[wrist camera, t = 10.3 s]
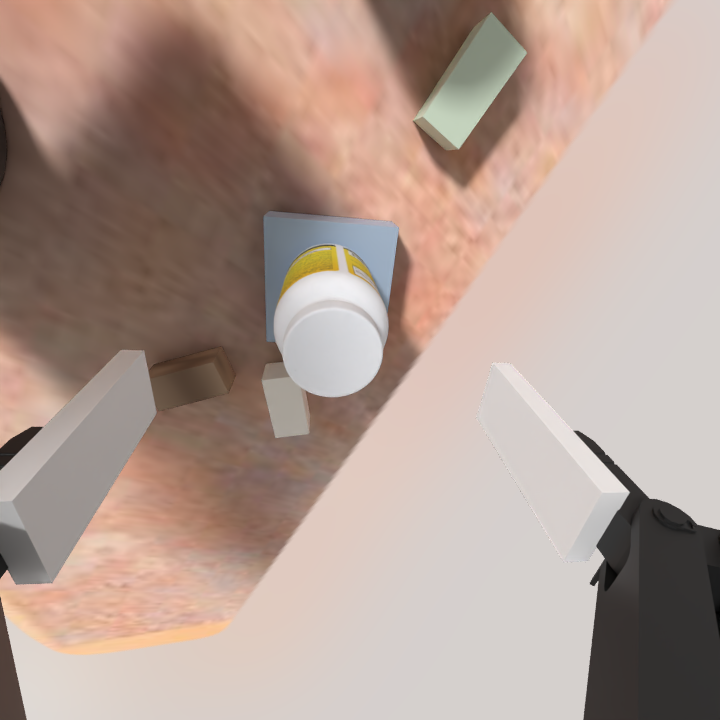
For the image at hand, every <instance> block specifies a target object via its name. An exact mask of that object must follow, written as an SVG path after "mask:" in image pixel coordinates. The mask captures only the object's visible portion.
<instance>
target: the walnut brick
mask: <svg viewBox="0 0 720 720" xmlns="http://www.w3.org/2000/svg"><path fill="white" fill-rule="evenodd" d="M148 372H149V377H150V382H151V387H152V392H153V397H154V402H155V406H156V407H157V409H158V411H163V410H166V409H170V408H174V407H178V406H182V405H185V404H189V403H193V402H197V401H201V400H205V399H208V398H212V397H216V396H220V395H224V394H228V393H229V391H230V388H231V386H232V384H233V381H234V379H235V373H234V371H233V369H232V367H231V365H230V363H229V361H228V359H227V357H226V355H225V353H224V351H223V349H222V346H221V347H218V348H214V349H210V350H206V351H203V352H199V353H195V354H191V355H188V356H184V357H180V358H176V359H173V360H169V361H165V362H161V363H158V364H154V365H153V367H152V368H151V369H150V370H149V371H148Z"/></svg>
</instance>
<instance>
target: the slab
mask: <svg viewBox="0 0 720 720" xmlns="http://www.w3.org/2000/svg"><path fill="white" fill-rule="evenodd" d="M263 221H264V260H265V300H266V339H267V342H276V340H275V336H274V315H275V310H276V307H277V303H278V300H279V297H280V294H281V290H282V287H283V283H284V280H285V276H286V274H287V271H288V269H289V267H290V265H291V263H292V262H293V260H294V259H295V258H296V257H297V256H298V255H299V254H300V253H301V252H303V251H304V250H306V249H308V248H310V247H312V246H315V245H318V244H337V245H341V246H344V247H347V248H349V249H350V250H352V251H354V252H355V253H356V254H357V255H358V256H359V257H361V259H362V260H363V261H364V262H365V264H366V265H367V267H368V269H369V271H370V273H371V275H372V278H373V280H374V282H375V285H376V287H377V289H378V291H379V294H380V296H381V298H382V300H383V303H384V305H385V308H386V311H387V313H388V306H389V298H390V291H391V283H392V276H393V268H394V260H395V253H396V245H397V238H398V230H399V227H398V226H396V225H395V224H394V223H393V222H392V221H381V220H370V219H358V218H346V217H335V216H323V215H312V214H300V213H288V212H277V211H268V212H267V213H266V214H265V215H264V216H263Z"/></svg>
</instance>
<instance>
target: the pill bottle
mask: <svg viewBox="0 0 720 720" xmlns="http://www.w3.org/2000/svg"><path fill="white" fill-rule="evenodd" d="M388 328H389V325H388V316H387V311H386V308H385V305H384V303H383V300H382V298H381V296H380V294H379V291H378V289H377V287H376V285H375V282H374V280H373V278H372V275H371V273H370V271H369V269H368V267H367V265H366V264H365V262H364V261H363V260H362V259H361V257H359V256H358V255H357V254H356V253H355V252H354V251H352V250H350V249H349V248H347V247H344V246H341V245H337V244H318V245H315V246H312V247H310V248H308V249H306V250H304V251H303V252H301V253H300V254H299V255H298V256H297V257H296V258H295V259H294V260H293V262H292V263H291V265H290V267H289V269H288V271H287V274H286V276H285V280H284V283H283V287H282V290H281V294H280V297H279V300H278V303H277V307H276V310H275V315H274V336H275V340H276V343H277V346H278V348H279V350H280V352H281V354H282V356H283V362H284V366H285V368H286V371H287V373H288V374H289V376H290V377H291V379H292V380H293V381H294V382H295V383H296V384H297V385H298V386H299V387H301V388H302V389H304V390H305V391H308V392H310V393H312V394H315V395H318V396H323V397H342V396H347V395H350V394H353V393H355V392H357V391H359V390H361V389H362V388H364V387H365V386H366V385H368V384H369V383H370V382H371V381H372V380H373V378H374V377H375V376H376V374H377V372H378V371H379V368H380V366H381V363H382V358H383V348H384V346H385V343H386V340H387V336H388Z"/></svg>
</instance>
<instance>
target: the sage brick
mask: <svg viewBox="0 0 720 720" xmlns="http://www.w3.org/2000/svg"><path fill="white" fill-rule="evenodd" d="M526 54H527V52H526V51H525V50H524V48H523V47H522V46H521V45H520V44H519V43H518V42H517V40H516V39H515V38H514V37H513V36H512V35H511V34H510V33H509V31H508V30H507V29H506V28H505V27H504V26H503V25H502V24H501V22H500V21H499V20H498V19H497V18H496V17H495V16H494V14H493V13H492V12H491V13H490V14H489V15H487V16H486V17H485V18H484V19H483V20H482V21H480V22H479V23H478V24H477V25H476V26H475V27H473V29H472V30H471V32H470V33H469V35H468V37H467V38H466V40H465V41H464V43H463V44H462V46H461V47H460V49H459V50H458V52H457V54H456V55H455V57H454V58H453V60H452V61H451V63H450V64H449V66H448V67H447V69H446V71H445V72H444V74H443V75H442V77H441V78H440V80H439V81H438V83H437V84H436V86H435V88H434V89H433V91H432V92H431V94H430V95H429V97H428V98H427V100H426V101H425V103H424V105H423V106H422V108H421V109H420V111H419V112H418V114H417V115H416V117H415V118H414V120H413V121H414V122H415V123H416V124H417V125H418V126H419V127H420V128H421V129H423V130H424V131H425V132H426V133H427V134H428V135H429V136H430V137H432V138H433V139H434V140H435V141H436V142H437V143H438V144H439V145H440V146H442V147H443V148H444V149H445V150H458V149H459V148H460V147H461V145H462V144H463V143H464V141H465V140H466V138H467V137H468V136H469V134H470V133H471V131H472V130H473V129H474V127H475V126H476V124H477V123H478V122H479V120H480V119H481V117H482V116H483V114H484V113H485V112H486V110H487V109H488V107H489V106H490V105H491V103H492V102H493V100H494V99H495V98H496V96H497V95H498V93H499V92H500V91H501V89H502V88H503V86H504V85H505V83H506V82H507V81H508V79H509V78H510V76H511V75H512V74H513V72H514V71H515V69H516V68H517V67H518V65H519V64H520V62H521V61H522V60H523V58H524V57H525V55H526Z"/></svg>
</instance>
